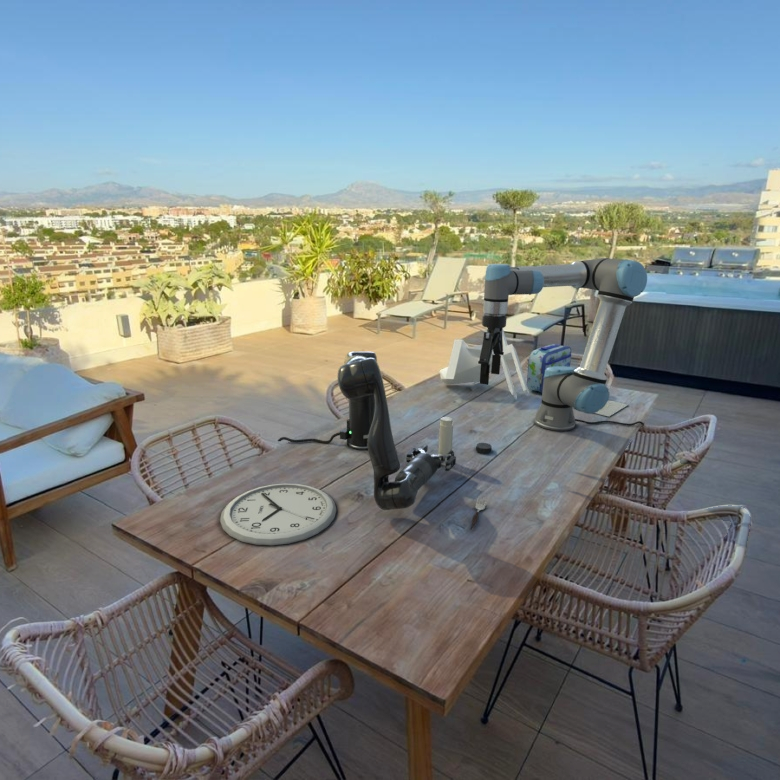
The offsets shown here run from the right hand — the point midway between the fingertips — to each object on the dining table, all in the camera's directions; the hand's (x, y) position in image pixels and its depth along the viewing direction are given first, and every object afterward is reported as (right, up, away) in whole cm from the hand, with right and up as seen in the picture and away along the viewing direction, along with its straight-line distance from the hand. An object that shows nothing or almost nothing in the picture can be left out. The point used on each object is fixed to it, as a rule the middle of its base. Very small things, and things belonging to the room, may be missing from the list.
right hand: (489, 378), depth 172 cm
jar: (-15, -27, -2) cm, 31 cm away
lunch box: (+42, -3, +78) cm, 89 cm away
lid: (-1, -23, +7) cm, 24 cm away
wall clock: (-62, -36, -33) cm, 79 cm away
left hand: (-17, -23, -9) cm, 30 cm away
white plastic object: (+9, -5, +71) cm, 72 cm away
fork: (-10, -37, -33) cm, 51 cm away
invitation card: (+59, -11, +54) cm, 81 cm away
